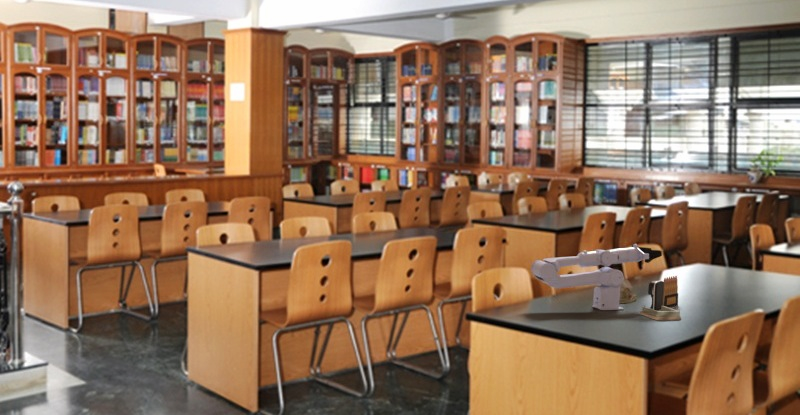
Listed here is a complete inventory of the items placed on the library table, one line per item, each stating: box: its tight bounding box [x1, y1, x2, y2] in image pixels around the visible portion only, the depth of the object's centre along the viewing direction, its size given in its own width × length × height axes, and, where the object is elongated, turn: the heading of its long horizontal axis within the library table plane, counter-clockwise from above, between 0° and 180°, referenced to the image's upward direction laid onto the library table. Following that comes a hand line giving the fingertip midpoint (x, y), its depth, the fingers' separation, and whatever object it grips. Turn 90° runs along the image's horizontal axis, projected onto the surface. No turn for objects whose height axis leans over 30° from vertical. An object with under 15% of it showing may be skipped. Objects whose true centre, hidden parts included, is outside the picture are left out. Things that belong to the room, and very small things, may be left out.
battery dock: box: [638, 306, 682, 321], centre depth 340 cm, size 10×12×3 cm
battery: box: [647, 280, 664, 311], centre depth 352 cm, size 7×4×11 cm, turn 140°
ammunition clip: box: [663, 275, 679, 308], centre depth 361 cm, size 11×2×12 cm, turn 136°
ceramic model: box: [619, 277, 638, 304], centre depth 373 cm, size 14×11×10 cm
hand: (656, 252), depth 358 cm, fingers open, 7 cm apart
